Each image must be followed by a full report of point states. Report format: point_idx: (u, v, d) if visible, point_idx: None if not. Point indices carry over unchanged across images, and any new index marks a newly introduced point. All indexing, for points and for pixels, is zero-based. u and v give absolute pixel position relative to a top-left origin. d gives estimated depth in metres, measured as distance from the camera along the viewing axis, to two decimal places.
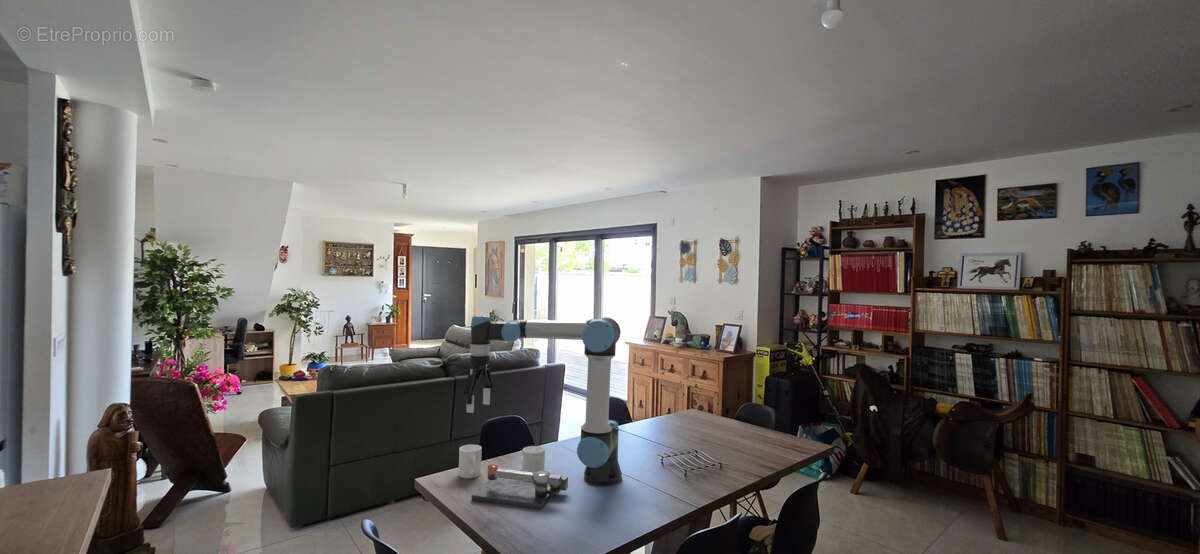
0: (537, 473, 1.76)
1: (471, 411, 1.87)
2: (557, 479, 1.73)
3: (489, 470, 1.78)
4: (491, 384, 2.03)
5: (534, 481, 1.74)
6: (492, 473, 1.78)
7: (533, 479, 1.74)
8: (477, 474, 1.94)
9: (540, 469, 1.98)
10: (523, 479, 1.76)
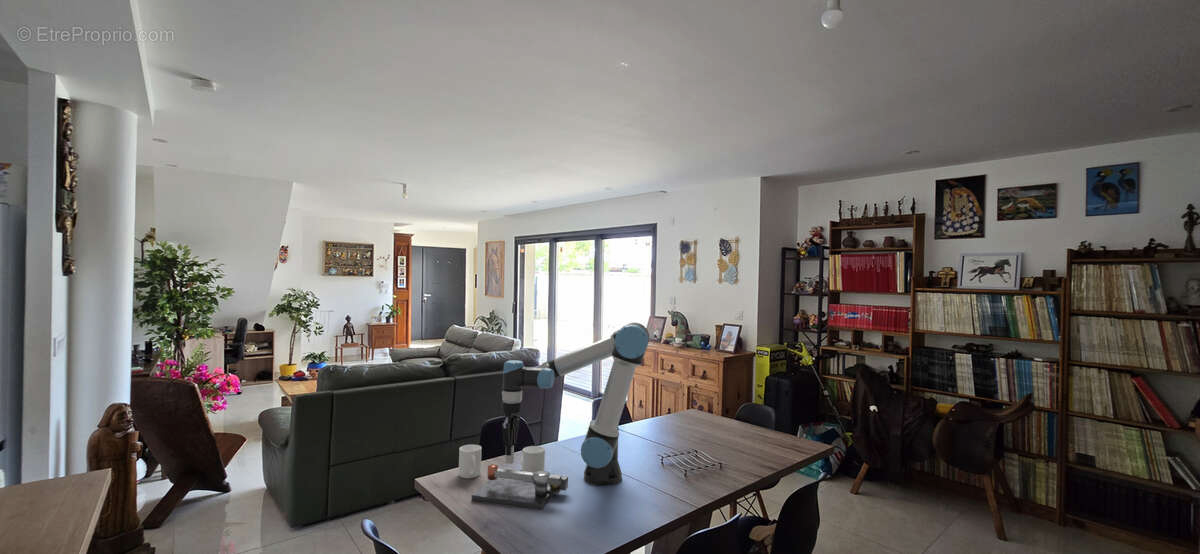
0: (537, 473, 1.76)
1: (510, 462, 1.87)
2: (557, 479, 1.73)
3: (489, 470, 1.78)
4: (515, 439, 1.91)
5: (534, 481, 1.74)
6: (492, 473, 1.78)
7: (533, 479, 1.74)
8: (477, 474, 1.94)
9: (540, 469, 1.98)
10: (523, 479, 1.76)
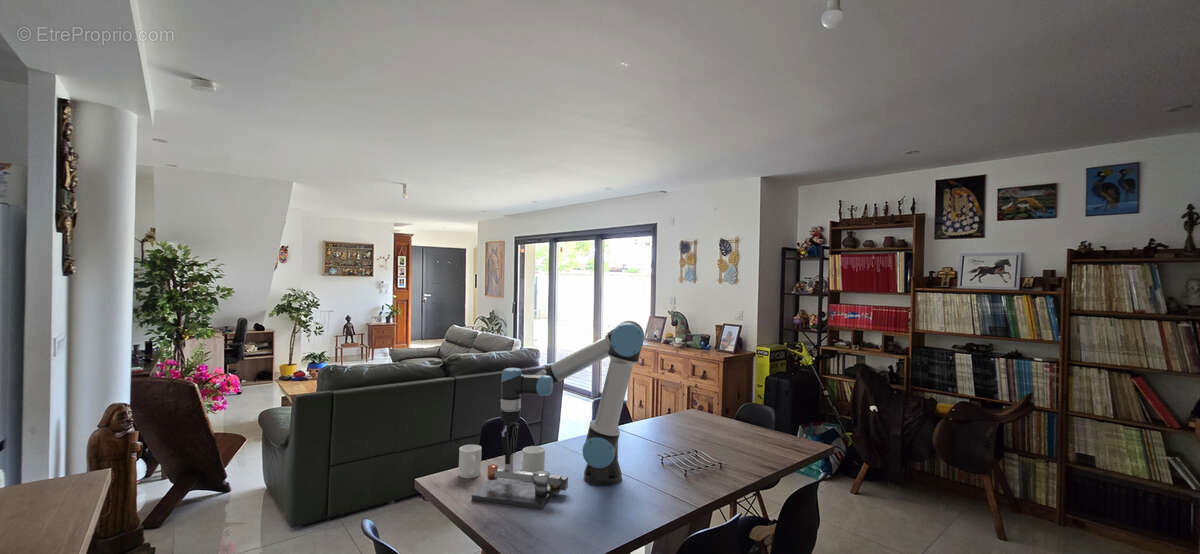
0: (537, 473, 1.76)
1: None
2: (557, 479, 1.73)
3: (489, 470, 1.78)
4: (514, 447, 1.89)
5: (534, 481, 1.74)
6: (492, 473, 1.78)
7: (533, 479, 1.74)
8: (477, 474, 1.94)
9: (540, 469, 1.98)
10: (523, 479, 1.76)
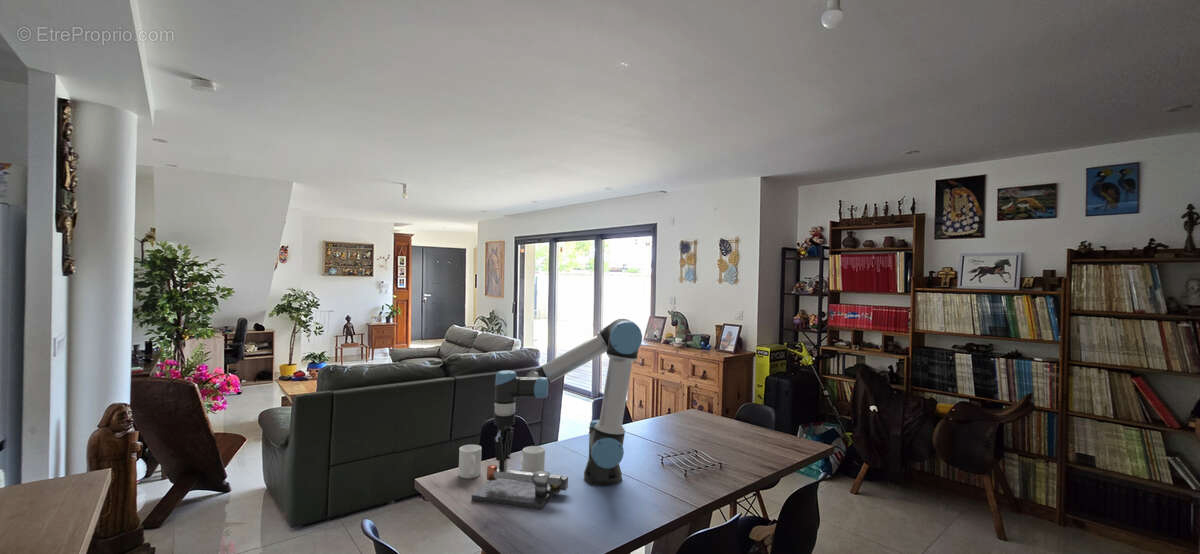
0: (537, 473, 1.76)
1: None
2: (557, 479, 1.73)
3: (489, 471, 1.78)
4: (509, 453, 1.83)
5: (534, 481, 1.74)
6: (491, 474, 1.78)
7: (533, 479, 1.74)
8: (477, 474, 1.94)
9: (540, 469, 1.98)
10: (523, 479, 1.76)
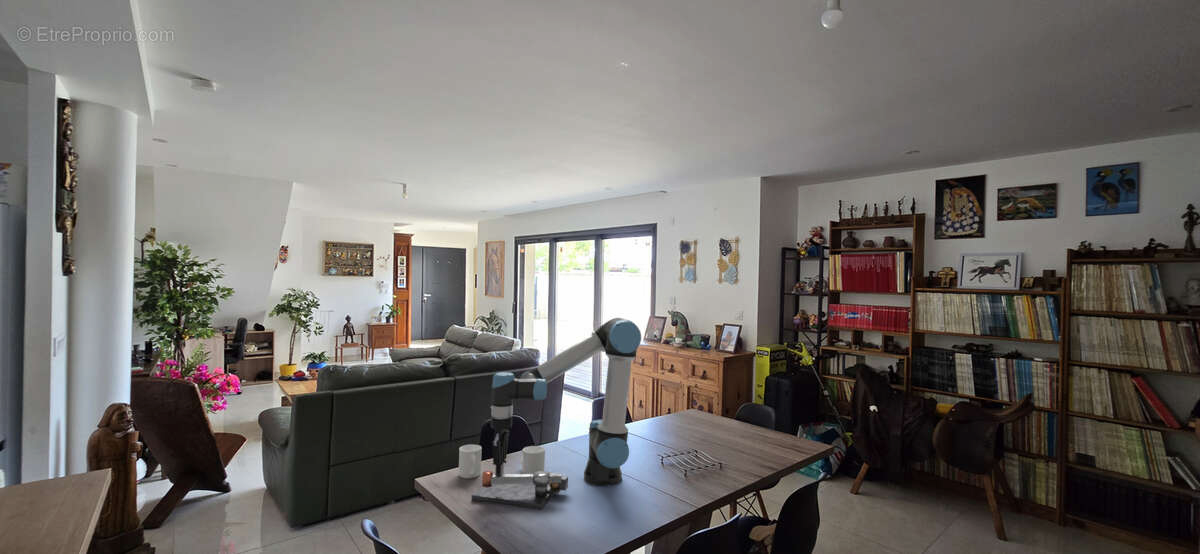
0: (537, 474, 1.76)
1: None
2: (559, 477, 1.75)
3: (486, 477, 1.72)
4: (505, 456, 1.79)
5: (536, 482, 1.73)
6: (488, 480, 1.72)
7: (534, 480, 1.74)
8: (477, 474, 1.94)
9: (540, 469, 1.98)
10: (523, 481, 1.74)
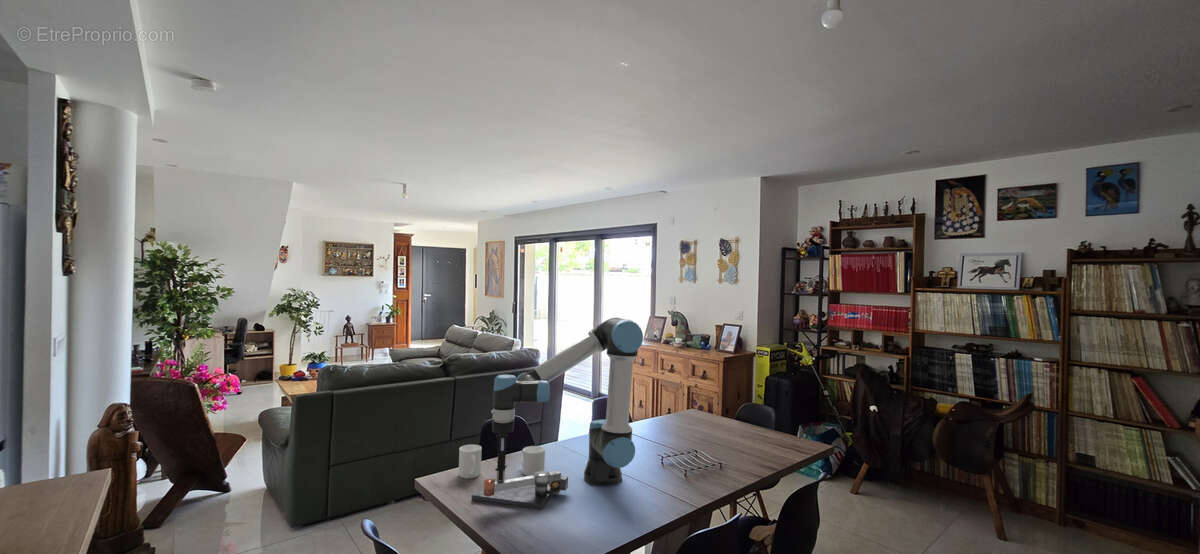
0: (537, 474, 1.75)
1: None
2: (559, 474, 1.78)
3: (490, 486, 1.65)
4: None
5: (539, 482, 1.73)
6: (492, 488, 1.65)
7: (537, 481, 1.73)
8: (477, 474, 1.94)
9: (540, 469, 1.98)
10: (525, 484, 1.72)
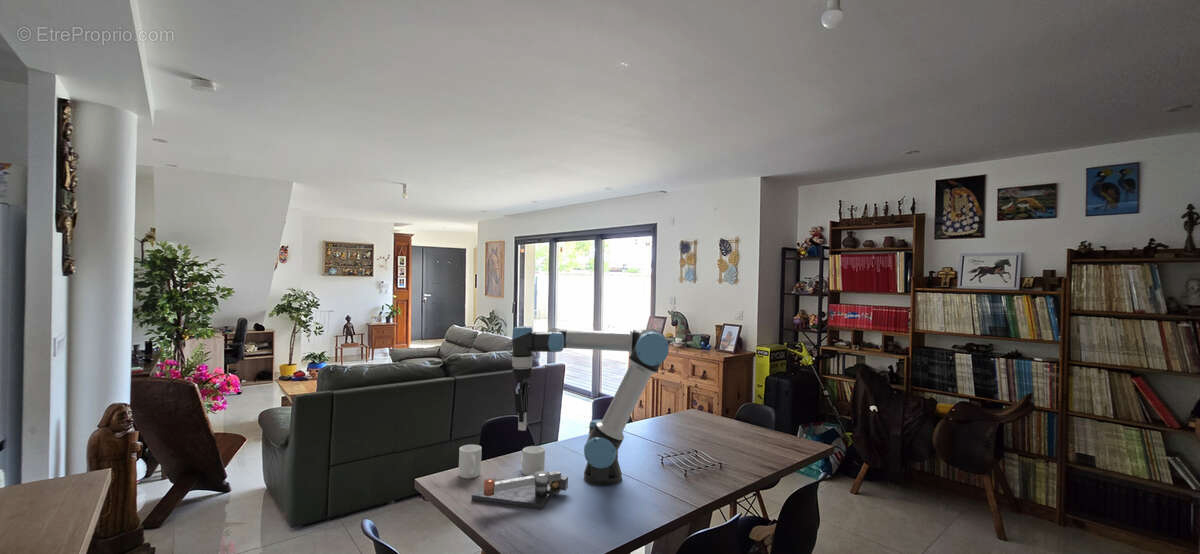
0: (537, 474, 1.75)
1: (523, 429, 1.85)
2: (559, 474, 1.78)
3: (490, 486, 1.65)
4: (527, 406, 1.88)
5: (539, 482, 1.73)
6: (492, 488, 1.65)
7: (537, 481, 1.73)
8: (477, 474, 1.94)
9: (540, 469, 1.98)
10: (525, 484, 1.72)
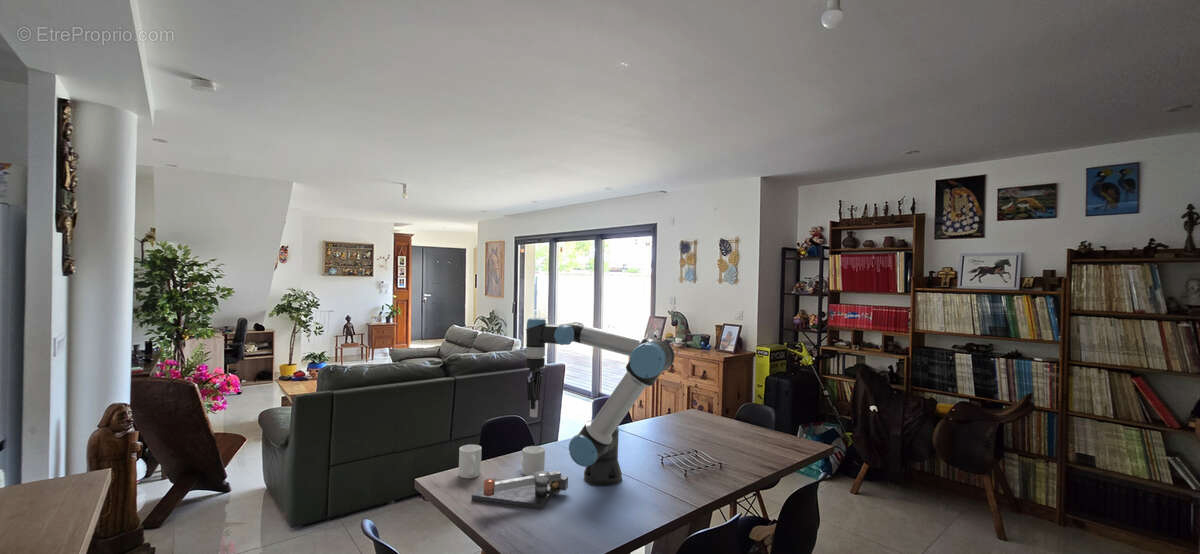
0: (537, 474, 1.75)
1: (534, 416, 1.94)
2: (559, 474, 1.78)
3: (490, 486, 1.65)
4: (538, 394, 1.97)
5: (539, 482, 1.73)
6: (492, 488, 1.65)
7: (537, 481, 1.73)
8: (477, 474, 1.94)
9: (540, 469, 1.98)
10: (525, 484, 1.72)
